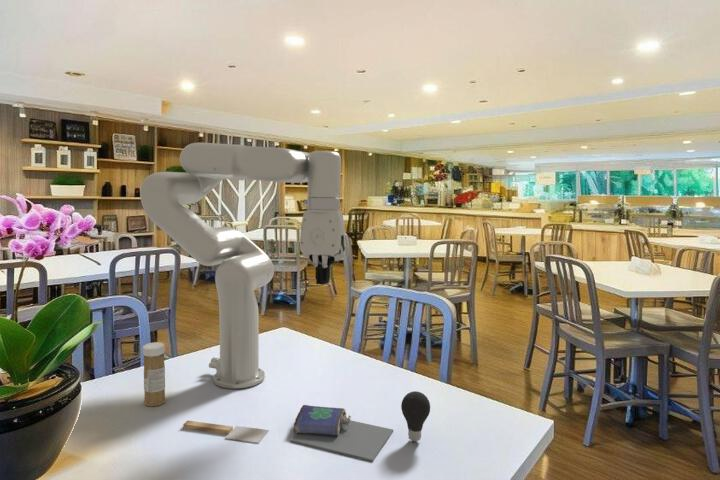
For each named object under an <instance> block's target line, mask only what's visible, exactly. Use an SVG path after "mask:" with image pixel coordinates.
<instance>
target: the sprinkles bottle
mask: <svg viewBox="0 0 720 480" xmlns="http://www.w3.org/2000/svg"><path fill="white" fill-rule="evenodd" d="M165 352H166V345H165V343H164V342H158V341H157V342H149V343H146V344H144V345H142V356H143V390H144V401H143V403H144V405H145V406H147V407H158V406H161V405H163V404H165V403H166V393H165V392H166V391H165V390H166V366H165Z"/></svg>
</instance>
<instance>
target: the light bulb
mask: <svg viewBox="0 0 720 480" xmlns="http://www.w3.org/2000/svg"><path fill="white" fill-rule="evenodd" d="M400 407H401V412H402V415H403V417H404V419H405V421H406V424H407V428H408V432H407V434H408V439H409V440H410V441H411V442H412V443H418V441H420V440H421V438H422V430H423V428H424V427H423V426H424V424H425V422H426V420H427V419H428V417H429V415H430V412H431V403H430V401H429V399H428V397H427V395H425V394H424V393H422V392H420V391H410V392H408V393H407V394H406V395H405V396H404V397H403V399H402V401H401V405H400Z"/></svg>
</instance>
